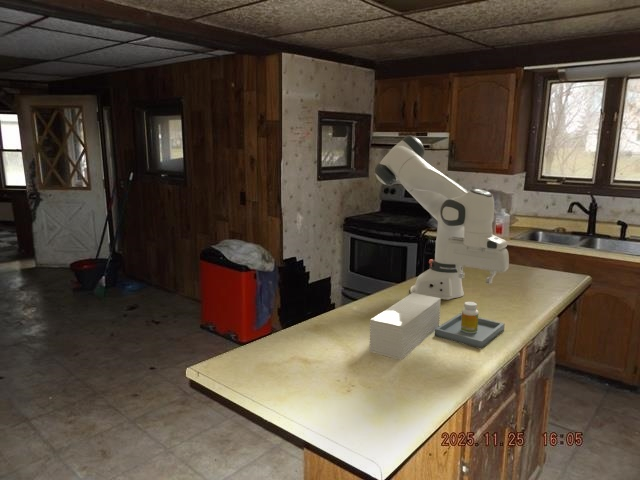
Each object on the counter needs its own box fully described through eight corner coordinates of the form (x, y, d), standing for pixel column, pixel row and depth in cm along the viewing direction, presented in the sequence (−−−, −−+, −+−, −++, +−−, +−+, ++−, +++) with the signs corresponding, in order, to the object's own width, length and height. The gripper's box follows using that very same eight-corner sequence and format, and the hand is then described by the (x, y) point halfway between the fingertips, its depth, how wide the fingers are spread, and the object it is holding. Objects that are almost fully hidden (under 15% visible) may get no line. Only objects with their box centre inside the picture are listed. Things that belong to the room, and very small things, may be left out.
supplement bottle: (478, 334, 159) (480, 306, 157) (461, 333, 160) (463, 305, 158) (476, 328, 164) (478, 301, 162) (460, 327, 165) (461, 300, 163)
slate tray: (481, 348, 149) (481, 341, 149) (434, 335, 160) (434, 328, 159) (504, 330, 164) (504, 323, 164) (460, 319, 175) (460, 313, 174)
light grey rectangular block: (401, 360, 142) (402, 326, 140) (369, 352, 148) (370, 319, 146) (439, 327, 168) (440, 298, 166) (410, 321, 174) (411, 292, 172)
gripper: (443, 237, 160) (441, 277, 162) (505, 245, 147) (502, 288, 150) (451, 234, 164) (449, 273, 167) (512, 242, 152) (508, 284, 154)
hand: (474, 280), depth 158 cm, fingers open, 8 cm apart
